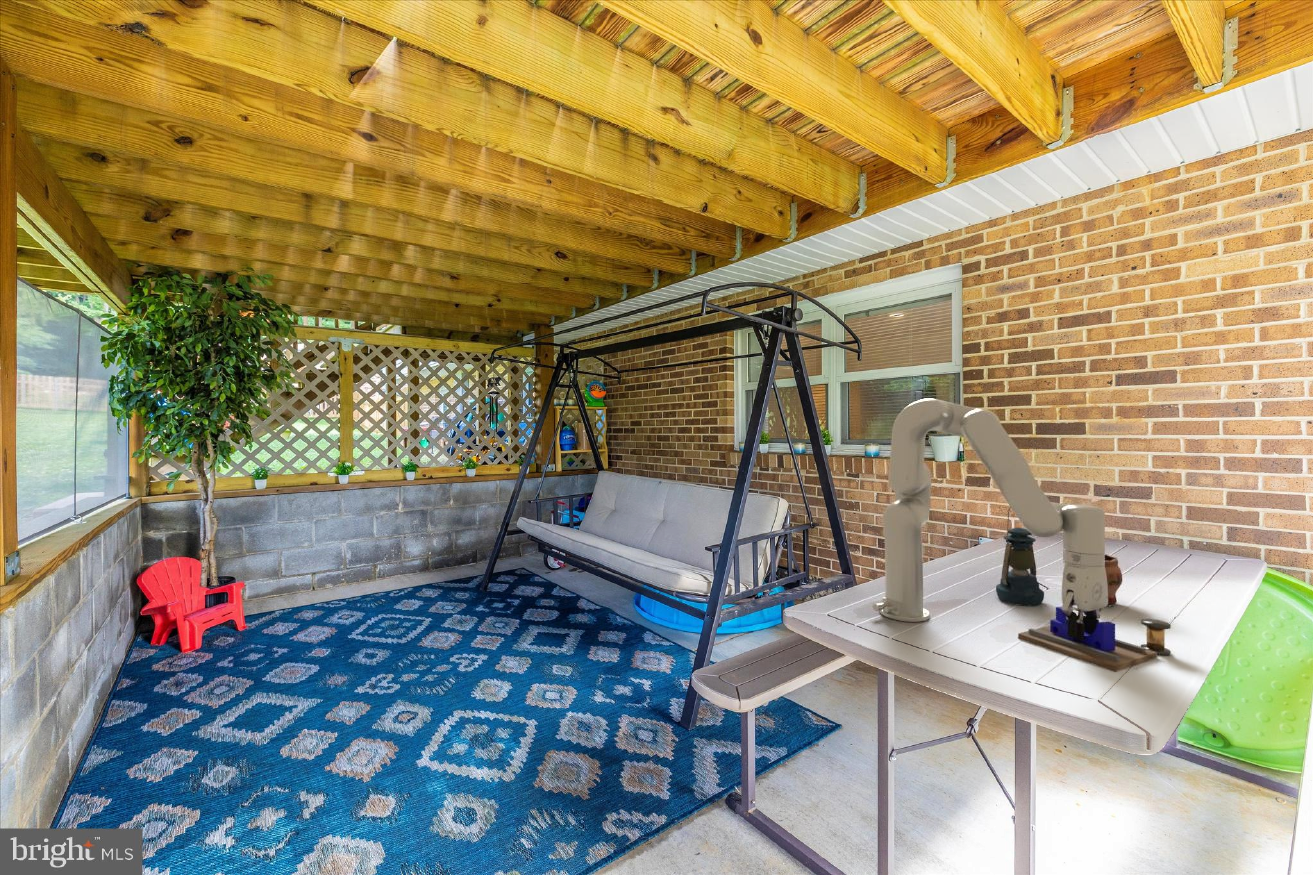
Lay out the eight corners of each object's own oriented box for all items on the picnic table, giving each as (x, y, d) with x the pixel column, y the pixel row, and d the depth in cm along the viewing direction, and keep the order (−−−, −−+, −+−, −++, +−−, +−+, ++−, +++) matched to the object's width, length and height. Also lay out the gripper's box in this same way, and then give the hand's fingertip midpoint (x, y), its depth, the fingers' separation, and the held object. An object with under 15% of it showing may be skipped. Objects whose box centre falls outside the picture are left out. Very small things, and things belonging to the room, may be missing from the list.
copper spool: (1163, 657, 119) (1163, 627, 119) (1135, 649, 124) (1135, 620, 124) (1175, 653, 121) (1175, 624, 121) (1147, 645, 126) (1147, 617, 126)
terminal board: (1115, 671, 113) (1115, 661, 112) (1018, 638, 131) (1018, 629, 131) (1156, 657, 119) (1156, 647, 119) (1058, 627, 137) (1058, 619, 137)
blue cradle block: (1050, 631, 131) (1050, 607, 131) (1066, 630, 131) (1066, 606, 131) (1097, 652, 119) (1097, 625, 119) (1115, 650, 120) (1115, 623, 119)
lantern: (1024, 610, 151) (1024, 485, 150) (984, 598, 162) (983, 481, 161) (1056, 602, 156) (1056, 482, 156) (1015, 591, 167) (1014, 479, 167)
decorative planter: (1115, 617, 144) (1115, 565, 144) (1059, 606, 153) (1059, 557, 153) (1127, 600, 157) (1127, 553, 157) (1075, 591, 166) (1075, 546, 166)
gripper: (1079, 566, 118) (1079, 648, 118) (1123, 558, 125) (1123, 636, 125) (1043, 558, 125) (1043, 636, 125) (1087, 551, 131) (1086, 625, 132)
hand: (1083, 635), depth 125 cm, fingers closed on blue cradle block, 4 cm apart
